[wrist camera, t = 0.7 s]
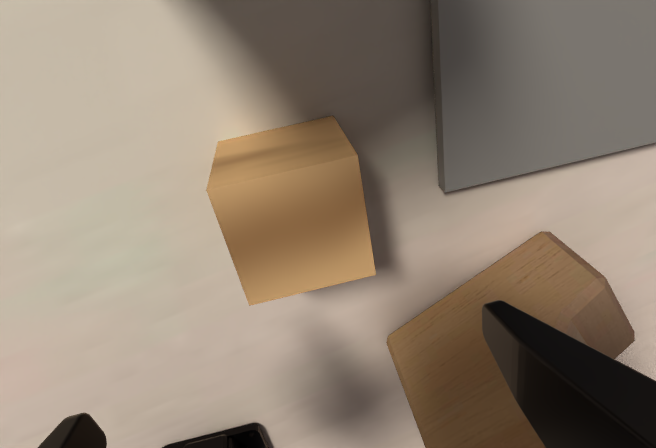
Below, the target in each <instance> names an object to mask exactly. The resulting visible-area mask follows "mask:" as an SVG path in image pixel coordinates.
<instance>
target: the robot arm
mask: <svg viewBox="0 0 656 448" xmlns="http://www.w3.org/2000/svg"><path fill="white" fill-rule="evenodd" d="M482 332H483V336H484V338H485V341H486V343H487V345H488V347H489V349H490V351H491V353H492V355H493V357H494V359H495V361H496V363H497V365H498V367H499V369H500V371H501V373H502V375H503V377H504V379H505V381H506V383H507V385H508V387H509V388H510V390H511V392H512V394H513V396H514V398H515V400H516V402H517V403H518V405H519V407H520V408H521V410H522V412H523V413H524V415H525V416H526V418H527V419H528V421H529V423H530V424H531V426H532V427H533V429H534V430H535V432H536V433H537V435H538V436H539V438H540V440H541V441H542V443H543V444H544V446H545V447H546V448H656V381H655V380H653V379H651V378H649V377H647V376H645V375H643V374H641V373H640V372H638V371H636V370H634V369H632V368H630V367H628V366H626V365H624V364H622V363H621V362H619V361H617V360H615V359H613V358H611V357H609V356H607V355H605V354H603V353H602V352H600V351H598V350H596V349H594V348H592V347H590V346H588V345H586V344H584V343H582V342H581V341H579V340H577V339H575V338H573V337H571V336H569V335H567V334H565V333H563V332H562V331H560V330H558V329H556V328H554V327H552V326H550V325H548V324H546V323H544V322H543V321H541V320H539V319H537V318H535V317H533V316H531V315H529V314H527V313H525V312H524V311H522V310H520V309H518V308H516V307H514V306H512V305H510V304H508V303H506V302H505V301H502V300H496V301H492V302H488V303H485V304H483V306H482ZM106 446H107V441H106V436H105V434H104V432H103V431H102V430H101V428H100V427H99V426H98V425H97V423H96V422H95V421H94V420H93V418H92V417H91V416H90V415H89V414H87V413H80V414H77V415H73V416H69V417H67V418H65V419H64V420H63V421H62V422H61V423H60V424H59V425H58V426H57V427H56V428H55V429H54V430H53V431H52V433H51V434H50V435H49V436H48V437H47V438H46V439H45V440H44V441H43V442H42V443H41V445H40V446H39V447H38V448H106ZM162 448H269V447H268V445H267V443H266V441H265V438H264V436H263V434H262V432H261V429H260V427H259V426H258V425H255V424H251V425H247V426H243V427H239V428H235V429H231V430H227V431H223V432H219V433H215V434H212V435H208V436H204V437H200V438H196V439H192V440H188V441H184V442H180V443H177V444H173V445H169V446H165V447H162Z"/></svg>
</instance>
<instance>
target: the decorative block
mask: <svg viewBox="0 0 656 448" xmlns="http://www.w3.org/2000/svg"><path fill="white" fill-rule="evenodd" d="M496 300H502V301H505V302H506V303H508V304H510V305H512V306H514V307H516V308H518V309H520V310H522V311H524V312H525V313H527V314H529V315H531V316H533V317H535V318H537V319H539V320H541V321H543V322H544V323H546V324H548V325H550V326H552V327H554V328H556V329H558V330H560V331H562V332H563V333H565V334H567V335H569V336H571V337H573V338H575V339H577V340H579V341H581V342H582V343H584V344H586V345H588V346H590V347H592V348H594V349H596V350H598V351H600V352H602V353H603V354H605V355H607V356H609V357H611V358H613V359H615V358H616V357H617V356H618V355H619V354H621V353H622V352H623V351H624V350H625V349H626V348H627V347H628V346H629V345H630V344H631V343H633V342H634V330H633V329H632V327H631V325H630V323H629V321H628V319H627V317H626V315H625V313H624V312H623V310H622V308H621V306H620V304H619V302H618V300H617V298H616V296H615V295H614V293H613V291H612V289H611V287H610V285H609V283H608V281H607V279H606V278H605V277H604V276H603V275H602V274H601V273H600V272H598V271H597V270H596V269H595V268H593V267H592V266H591V265H590V264H589V263H587V262H586V261H585V260H584V259H582V258H581V257H580V256H579V255H578V254H576V253H575V252H574V251H573V250H571V249H570V248H569V247H568V246H566V245H565V244H564V243H563V242H562V241H560V240H559V239H558V238H557V237H555V236H554V235H553V234H552V233H551V232H540V233H539V234H537V235H536V236H534V237H533V238H531V239H530V240H528V241H527V242H525V243H524V244H522V245H521V246H520V247H518V248H517V249H515V250H514V251H512V252H511V253H509V254H508V255H506V256H505V257H503V258H502V259H500V260H499V261H497V262H496V263H494V264H493V265H491V266H490V267H489V268H487V269H486V270H484V271H483V272H481V273H480V274H478V275H477V276H475V277H474V278H472V279H471V280H469V281H468V282H466V283H465V284H463V285H462V286H460V287H459V288H458V289H456V290H455V291H453V292H452V293H450V294H449V295H447V296H446V297H444V298H443V299H441V300H440V301H439V302H437V303H436V304H434V305H433V306H431V307H430V308H428V309H427V310H425V311H424V312H422V313H421V314H420V315H418V316H417V317H415V318H414V319H412V320H411V321H409V322H408V323H406V324H405V325H404V326H402V327H401V328H399V329H398V330H396V331H395V332H393V333H392V334H390V335H389V336H388V338H387V342H386V343H387V346H388V348H389V351H390V354H391V356H392V359H393V362H394V364H395V367H396V370H397V372H398V375H399V378H400V380H401V383H402V386H403V388H404V391H405V394H406V396H407V399H408V402H409V404H410V407H411V410H412V412H413V415H414V418H415V420H416V423H417V426H418V428H419V431H420V434H421V437H422V439H423V442H424V445H425V447H426V448H546V447H545V446H544V444H543V443H542V441H541V440H540V438H539V436H538V435H537V433H536V432H535V430H534V429H533V427H532V426H531V424H530V423H529V421H528V419H527V418H526V416H525V415H524V413H523V412H522V410H521V408H520V407H519V405H518V403H517V402H516V400H515V398H514V396H513V394H512V392H511V390H510V388H509V387H508V385H507V383H506V381H505V379H504V377H503V375H502V373H501V371H500V369H499V367H498V365H497V363H496V361H495V359H494V357H493V355H492V353H491V351H490V349H489V347H488V345H487V343H486V341H485V338H484V336H483V332H482V306H483V304H485V303H488V302H492V301H496Z"/></svg>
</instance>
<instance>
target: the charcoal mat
mask: <svg viewBox="0 0 656 448" xmlns="http://www.w3.org/2000/svg"><path fill="white" fill-rule="evenodd" d="M430 7H431V28H432V50H433V72H434V94H435V116H436V137H437V159H438V181H439V186H440V188H441V189H442V190H443V191H444V192H445V193H446V192H450V191H454V190H458V189H462V188H467V187H471V186H475V185H479V184H483V183H488V182H492V181H496V180H500V179H504V178H509V177H513V176H517V175H521V174H526V173H530V172H534V171H538V170H542V169H547V168H551V167H555V166H559V165H563V164H568V163H572V162H576V161H580V160H584V159H589V158H593V157H597V156H601V155H606V154H610V153H614V152H618V151H622V150H627V149H631V148H635V147H639V146H643V145H648V144H652V143H656V0H430Z"/></svg>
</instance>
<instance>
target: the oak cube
mask: <svg viewBox="0 0 656 448" xmlns="http://www.w3.org/2000/svg"><path fill="white" fill-rule="evenodd" d="M207 193H208V196H209V198H210V201H211V204H212V206H213V209H214V212H215V214H216V217H217V220H218V222H219V225H220V228H221V230H222V233H223V236H224V239H225V241H226V244H227V247H228V249H229V252H230V255H231V257H232V260H233V263H234V265H235V268H236V271H237V274H238V276H239V279H240V282H241V284H242V287H243V290H244V292H245V295H246V298H247V300H248V303H249V306H250V305H254V304H258V303H262V302H267V301H271V300H275V299H279V298H283V297H287V296H291V295H295V294H299V293H303V292H307V291H311V290H316V289H320V288H324V287H328V286H332V285H336V284H340V283H344V282H348V281H352V280H356V279H361V278H365V277H369V276H373V275H376V272H375V265H374V259H373V252H372V246H371V239H370V233H369V226H368V219H367V213H366V206H365V200H364V193H363V187H362V180H361V174H360V167H359V161H358V155H357V153H356V152H355V150H354V148H353V147H352V145H351V144H350V142H349V140H348V139H347V137H346V136H345V134H344V132H343V131H342V129H341V128H340V126H339V124H338V123H337V121H336V120H335V118H334V117H333V116H329V117H325V118H320V119H316V120H312V121H307V122H303V123H298V124H294V125H289V126H285V127H281V128H276V129H272V130H267V131H263V132H259V133H254V134H250V135H245V136H241V137H237V138H232V139H228V140H223V141H219V142H218V144H217V148H216V153H215V157H214V161H213V165H212V169H211V173H210V177H209V182H208V186H207Z"/></svg>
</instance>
